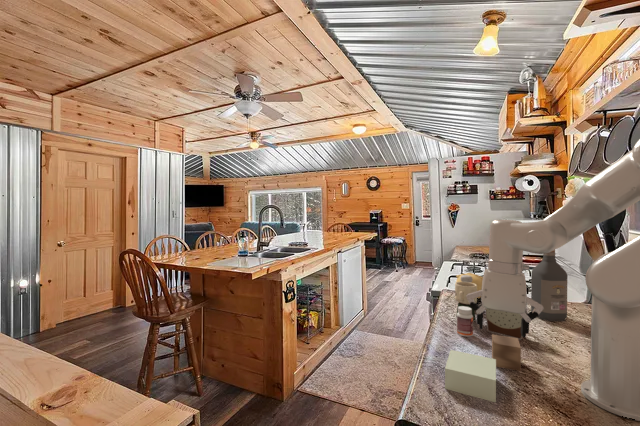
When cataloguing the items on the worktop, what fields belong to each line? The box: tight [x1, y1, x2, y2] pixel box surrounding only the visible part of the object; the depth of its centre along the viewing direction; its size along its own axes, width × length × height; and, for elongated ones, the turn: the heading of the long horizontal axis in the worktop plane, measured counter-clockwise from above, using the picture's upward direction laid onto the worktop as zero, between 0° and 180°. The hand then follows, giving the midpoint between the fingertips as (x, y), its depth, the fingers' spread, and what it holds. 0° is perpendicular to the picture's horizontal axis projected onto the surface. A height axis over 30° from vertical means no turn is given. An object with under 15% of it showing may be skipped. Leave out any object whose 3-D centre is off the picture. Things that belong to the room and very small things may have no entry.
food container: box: [485, 308, 529, 340], centre depth 99 cm, size 12×6×10 cm, turn 47°
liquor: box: [530, 249, 569, 322], centre depth 111 cm, size 9×9×30 cm
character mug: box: [454, 281, 478, 322], centre depth 109 cm, size 11×7×13 cm, turn 135°
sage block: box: [444, 349, 497, 403], centre depth 71 cm, size 10×10×5 cm
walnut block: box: [491, 333, 522, 372], centre depth 80 cm, size 6×6×6 cm
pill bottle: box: [456, 306, 474, 338], centre depth 98 cm, size 5×5×8 cm
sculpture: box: [455, 272, 483, 299], centre depth 136 cm, size 11×12×11 cm
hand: (501, 331), depth 81 cm, fingers open, 9 cm apart
